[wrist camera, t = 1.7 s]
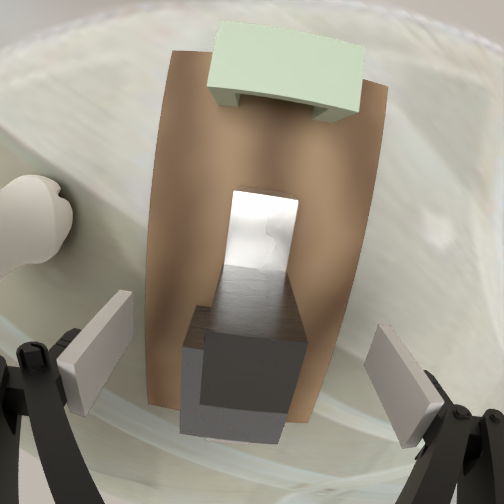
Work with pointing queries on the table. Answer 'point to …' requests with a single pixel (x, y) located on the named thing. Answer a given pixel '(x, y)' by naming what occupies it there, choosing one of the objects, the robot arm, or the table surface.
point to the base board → (220, 203)
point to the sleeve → (216, 418)
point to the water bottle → (31, 221)
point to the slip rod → (254, 311)
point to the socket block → (286, 68)
